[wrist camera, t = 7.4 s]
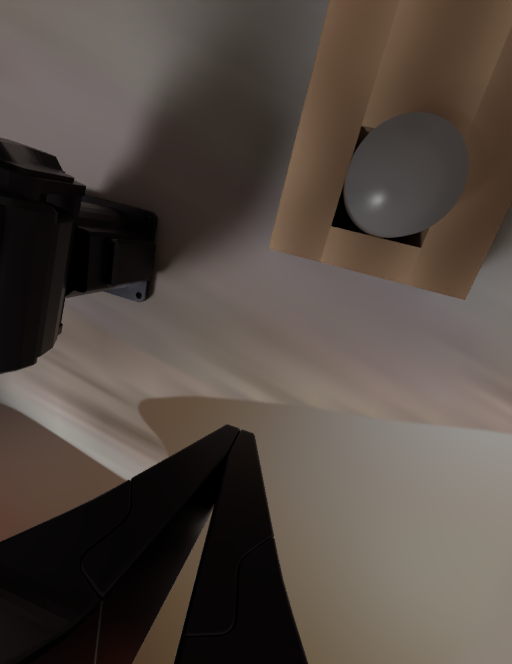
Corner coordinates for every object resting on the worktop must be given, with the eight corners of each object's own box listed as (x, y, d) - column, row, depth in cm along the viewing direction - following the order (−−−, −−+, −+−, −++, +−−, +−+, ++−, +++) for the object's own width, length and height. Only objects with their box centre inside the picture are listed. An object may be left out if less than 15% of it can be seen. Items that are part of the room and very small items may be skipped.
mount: (279, 248, 19) (268, 248, 16) (378, -140, 14) (400, -288, 10) (435, 289, 18) (465, 300, 14) (617, -124, 12) (746, -287, 9)
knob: (329, 230, 18) (332, 222, 13) (353, 150, 17) (368, 101, 11) (402, 248, 17) (438, 247, 12) (433, 167, 16) (491, 124, 11)
